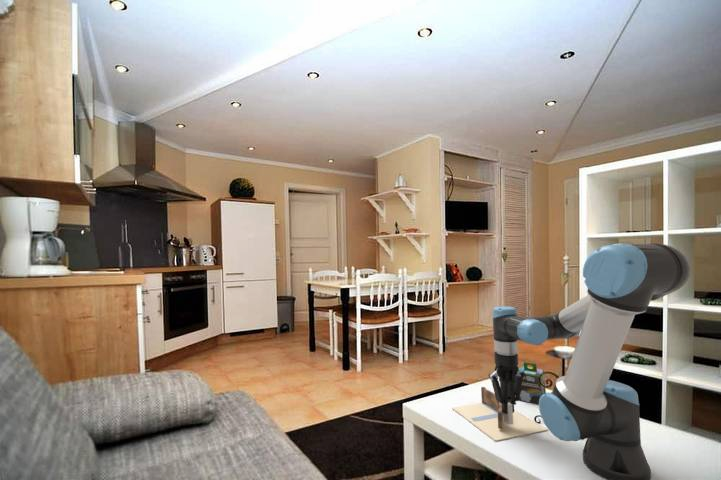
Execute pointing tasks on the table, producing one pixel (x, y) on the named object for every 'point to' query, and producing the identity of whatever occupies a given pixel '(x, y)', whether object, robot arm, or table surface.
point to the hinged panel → (500, 416)
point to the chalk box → (532, 383)
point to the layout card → (488, 422)
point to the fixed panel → (489, 398)
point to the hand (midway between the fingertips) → (508, 422)
